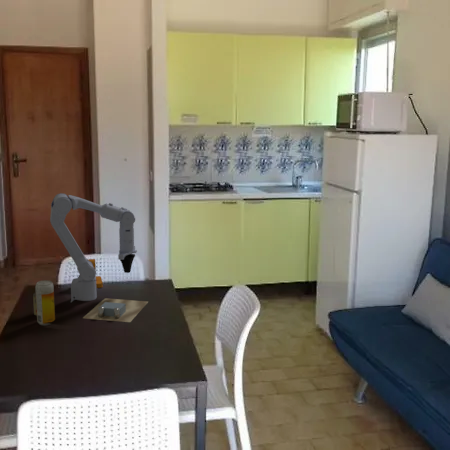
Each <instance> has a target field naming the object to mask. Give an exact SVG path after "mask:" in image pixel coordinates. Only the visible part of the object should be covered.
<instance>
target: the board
mask: <svg viewBox="0 0 450 450" xmlns="http://www.w3.org/2000/svg"><path fill="white" fill-rule="evenodd" d="M105 302H111V303H123V304H126V312H125V313H124V314H123V315H122V316H121V317H120V318H119V319H115V318H114V316H104V317H102V318H100V317H99V316H98V307H100V306H101V305H103V304H104V303H105ZM148 303H149V301H145V300H132V299H120V298H118V299H117V298H109V297H108V298H107V297H106V298H105V297H104V299H102V300H101V301H100V302H99V303H98V304H97V305H95V306H94V308H92V309H91V310H89V312H88V313H87V314H85V315H84V316H83V317H82V319H84V320H85V319H87V320H98V321H99V320H100V321H111V322H121V323H122V322H123V323H124V322H125V323H132V321H133V320H134V319H135V318H136V317H137V315H138V314H139V313H140V312H141V311H142V310H143V308H145V307H146V305H148Z"/></svg>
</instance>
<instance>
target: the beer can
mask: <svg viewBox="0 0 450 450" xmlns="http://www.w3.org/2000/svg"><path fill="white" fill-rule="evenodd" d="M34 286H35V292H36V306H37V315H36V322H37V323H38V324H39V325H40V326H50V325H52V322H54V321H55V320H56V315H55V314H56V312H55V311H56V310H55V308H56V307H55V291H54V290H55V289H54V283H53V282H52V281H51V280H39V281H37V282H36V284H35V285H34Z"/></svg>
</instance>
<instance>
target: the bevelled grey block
mask: <svg viewBox="0 0 450 450" xmlns="http://www.w3.org/2000/svg"><path fill="white" fill-rule="evenodd" d="M101 306H102V307H104V316H114V308H120V317H121V316H122V315H123V314H124V313H125V312H126V304H123V303H111V302H105V303H104V304H103V305H101ZM101 306H100V307H101Z"/></svg>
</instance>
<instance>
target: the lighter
mask: <svg viewBox="0 0 450 450" xmlns="http://www.w3.org/2000/svg"><path fill="white" fill-rule="evenodd" d="M32 295H33V296H32V300H33V315H34V316H37V306H36V291H35V292H34V293H33V294H32Z"/></svg>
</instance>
